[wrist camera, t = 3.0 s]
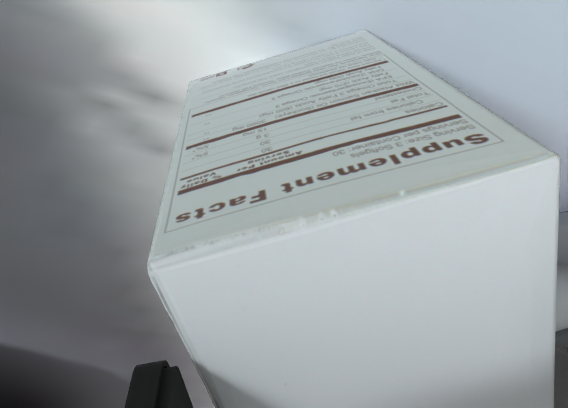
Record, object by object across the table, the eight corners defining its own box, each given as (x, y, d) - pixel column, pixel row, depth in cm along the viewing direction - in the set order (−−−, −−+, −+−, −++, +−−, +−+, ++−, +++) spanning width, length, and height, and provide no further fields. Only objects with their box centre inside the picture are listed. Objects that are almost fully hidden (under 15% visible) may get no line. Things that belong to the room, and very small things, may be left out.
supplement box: (394, 186, 22) (561, 433, 11) (238, 229, 23) (253, 512, 12) (369, 21, 19) (580, 150, 8) (183, 74, 19) (129, 272, 8)
